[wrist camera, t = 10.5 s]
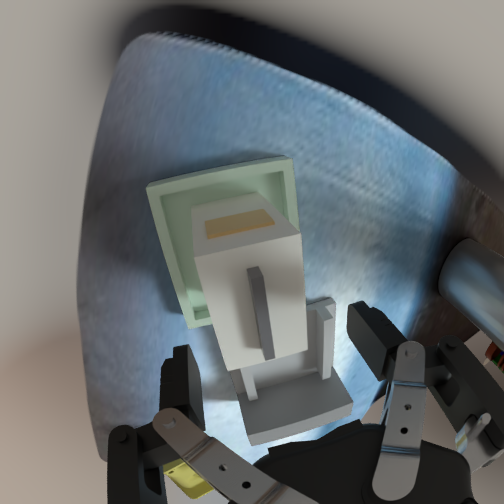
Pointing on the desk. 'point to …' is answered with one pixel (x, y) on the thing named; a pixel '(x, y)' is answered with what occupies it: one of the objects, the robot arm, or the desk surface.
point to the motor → (496, 355)
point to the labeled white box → (251, 278)
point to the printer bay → (296, 360)
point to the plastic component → (186, 479)
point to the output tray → (206, 190)
